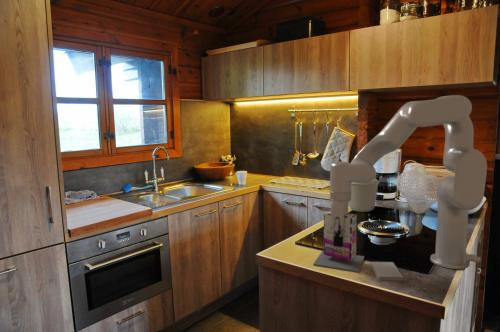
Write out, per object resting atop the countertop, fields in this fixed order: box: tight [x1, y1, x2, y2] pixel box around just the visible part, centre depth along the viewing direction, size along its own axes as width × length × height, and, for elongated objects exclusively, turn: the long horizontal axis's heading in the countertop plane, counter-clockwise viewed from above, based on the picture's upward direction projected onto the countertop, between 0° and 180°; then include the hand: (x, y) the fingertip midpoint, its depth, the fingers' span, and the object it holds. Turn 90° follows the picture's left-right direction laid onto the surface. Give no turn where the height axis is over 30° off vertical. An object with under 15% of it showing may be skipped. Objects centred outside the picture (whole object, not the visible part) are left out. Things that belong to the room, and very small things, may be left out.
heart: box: [396, 170, 442, 215], centre depth 194 cm, size 28×16×22 cm, turn 10°
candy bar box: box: [323, 209, 358, 261], centre depth 135 cm, size 11×5×16 cm, turn 51°
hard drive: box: [369, 261, 405, 281], centre depth 127 cm, size 2×8×12 cm
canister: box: [348, 177, 380, 213], centre depth 204 cm, size 18×18×21 cm
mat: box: [313, 249, 365, 273], centre depth 136 cm, size 16×14×1 cm
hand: (339, 243), depth 135 cm, fingers closed on candy bar box, 5 cm apart
